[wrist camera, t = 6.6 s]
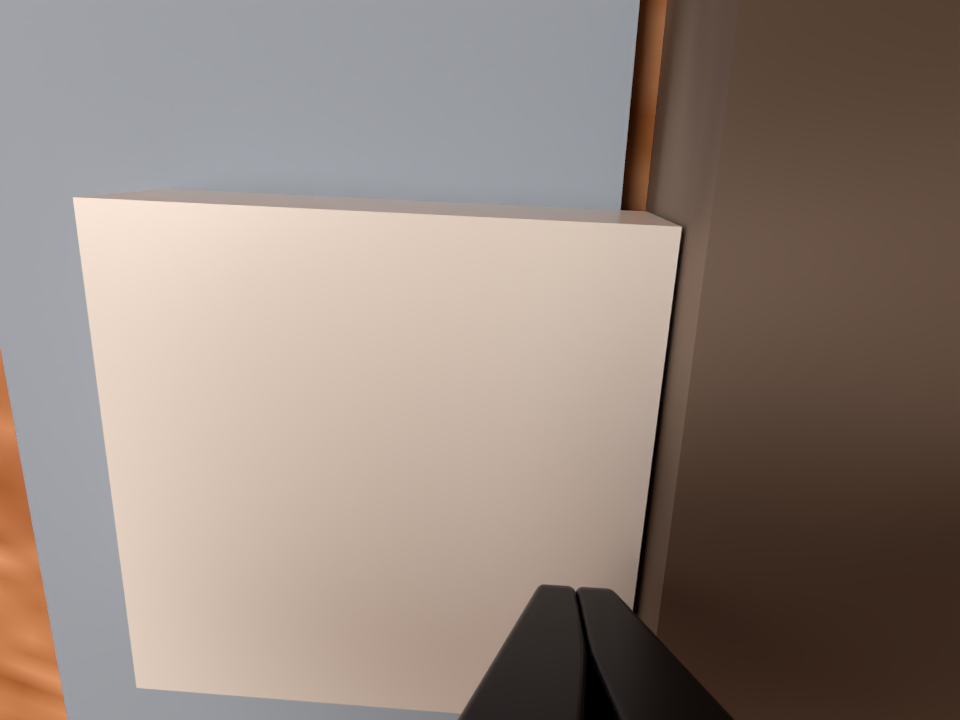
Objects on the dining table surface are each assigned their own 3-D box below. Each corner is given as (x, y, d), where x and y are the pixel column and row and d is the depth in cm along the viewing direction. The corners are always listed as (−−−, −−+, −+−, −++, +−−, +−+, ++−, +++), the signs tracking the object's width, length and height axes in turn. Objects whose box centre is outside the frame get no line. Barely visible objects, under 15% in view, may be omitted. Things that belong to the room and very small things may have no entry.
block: (600, 624, 13) (617, 726, 11) (203, 594, 14) (136, 687, 11) (646, 211, 11) (682, 226, 9) (166, 188, 11) (73, 197, 9)
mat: (562, 804, 15) (563, 825, 15) (93, 768, 16) (79, 787, 15) (645, -111, 10) (651, -124, 10) (-60, -123, 11) (-87, -137, 10)
